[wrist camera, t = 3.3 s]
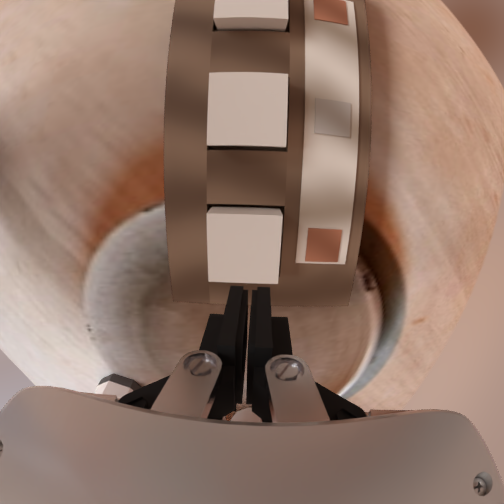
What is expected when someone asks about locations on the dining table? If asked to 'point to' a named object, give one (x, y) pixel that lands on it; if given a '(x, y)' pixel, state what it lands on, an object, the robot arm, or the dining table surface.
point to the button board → (272, 148)
